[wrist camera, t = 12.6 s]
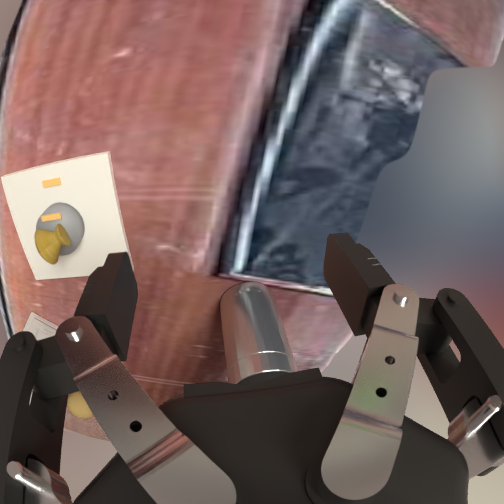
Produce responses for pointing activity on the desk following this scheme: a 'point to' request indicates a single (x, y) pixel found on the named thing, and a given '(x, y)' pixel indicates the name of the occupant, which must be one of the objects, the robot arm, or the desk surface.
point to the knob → (51, 243)
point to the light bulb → (78, 405)
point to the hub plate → (81, 195)
